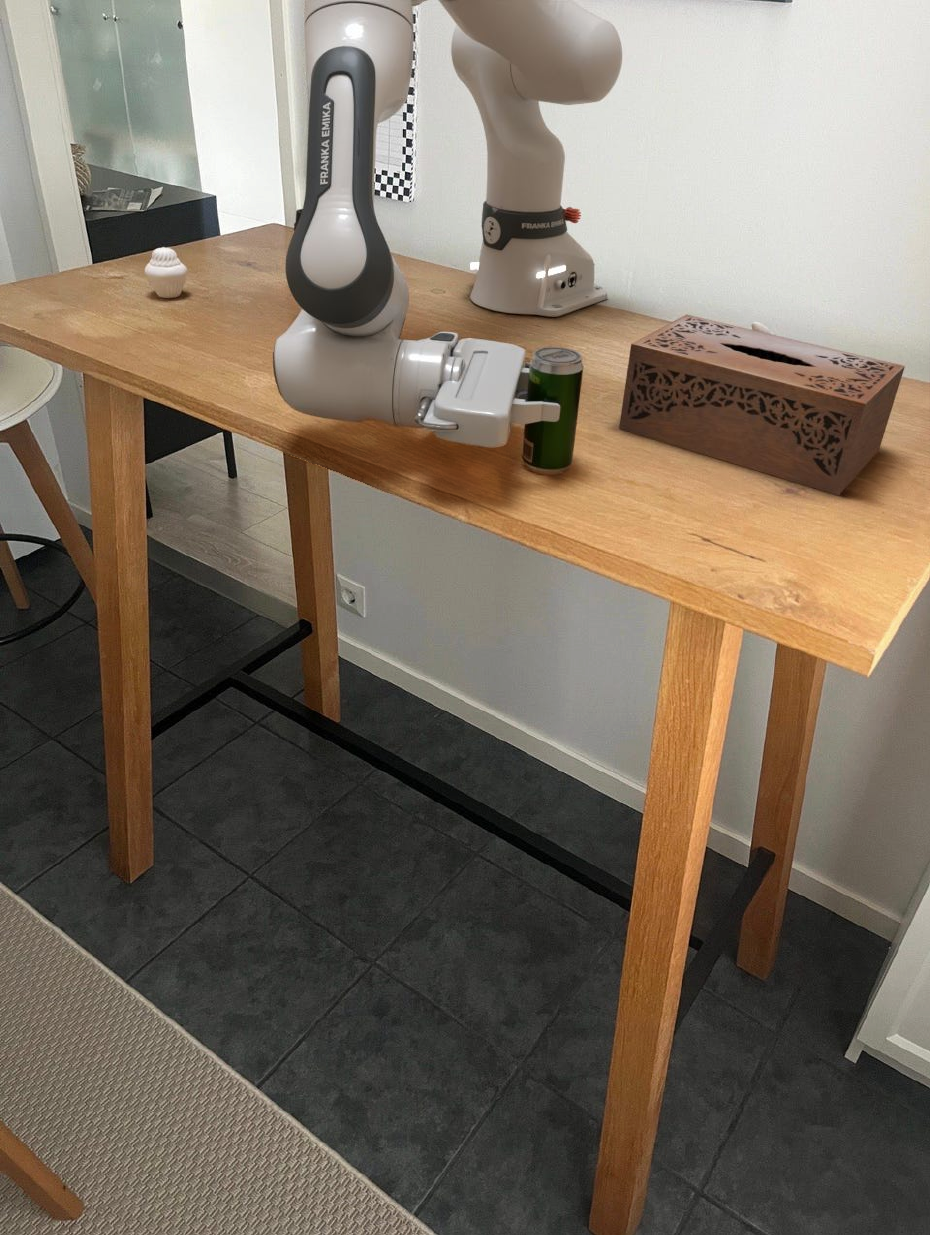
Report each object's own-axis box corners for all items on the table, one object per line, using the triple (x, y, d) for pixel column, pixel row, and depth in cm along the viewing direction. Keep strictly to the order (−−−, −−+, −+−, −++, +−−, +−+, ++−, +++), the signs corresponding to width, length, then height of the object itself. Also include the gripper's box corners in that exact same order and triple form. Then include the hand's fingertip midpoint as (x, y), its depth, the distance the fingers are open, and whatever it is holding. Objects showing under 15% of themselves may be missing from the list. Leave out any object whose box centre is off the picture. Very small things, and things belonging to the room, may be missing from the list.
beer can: (541, 480, 102) (552, 368, 95) (511, 460, 105) (520, 350, 99) (582, 469, 104) (595, 359, 98) (551, 450, 108) (562, 343, 101)
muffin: (198, 294, 148) (193, 246, 144) (168, 303, 144) (162, 254, 140) (169, 286, 151) (163, 239, 147) (138, 295, 147) (131, 246, 143)
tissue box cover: (878, 451, 112) (905, 365, 106) (838, 495, 102) (865, 404, 96) (672, 393, 124) (686, 314, 118) (618, 428, 114) (631, 343, 108)
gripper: (410, 393, 91) (558, 407, 90) (445, 325, 108) (570, 337, 107) (409, 455, 95) (552, 470, 94) (443, 380, 112) (564, 392, 111)
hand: (562, 398), depth 101 cm, fingers closed on beer can, 5 cm apart
